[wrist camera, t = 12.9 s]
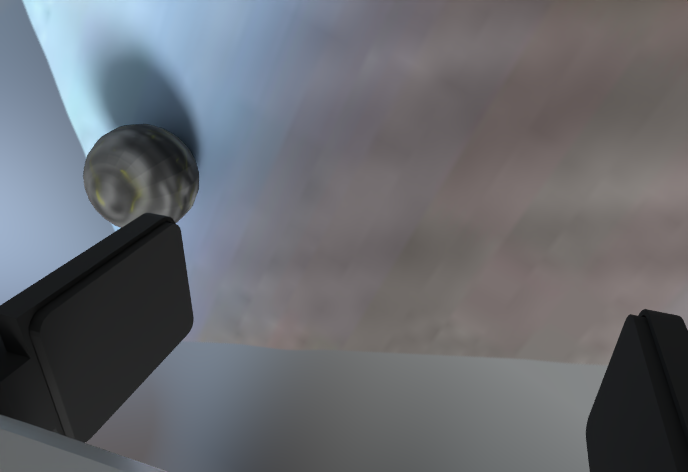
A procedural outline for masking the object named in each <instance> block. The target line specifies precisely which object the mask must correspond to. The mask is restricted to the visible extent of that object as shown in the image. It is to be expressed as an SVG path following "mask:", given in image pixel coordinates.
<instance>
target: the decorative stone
mask: <svg viewBox="0 0 688 472" xmlns="http://www.w3.org/2000/svg"><path fill="white" fill-rule="evenodd" d="M83 179H84V186H85V190H86V193H87V195H88V198H89V200H90V202H91V203H92V205H93V206H94V208H95V209H96V210H97V211H98V212H99V213H100V214H101V215H102V216H103V217H104V218H105V219H106V220H108V221H109V222H111V223H112V224H114V225H115V226H118V227H121V228H122V227H123V226H125V225H127V224H128V223H130V222H131V221H133V220H134V219H136V218H138V217H139V216H141V215H142V214H144V213H153V214H159V215H164V216H169V217H171V218H173V220H174V221H175V223H177V222H178V221H179V220H180V219H181V218H182V217H183V216H184V215H185V214H186V213H187V212H188V211H189V210H190V209H191V207H192V206H193V203H194V201H195V198H196V195H197V193H198V190H199V171H198V168H197V164H196V161H195V159H194V157H193V155H192V153H191V152H190V150H189V148H188V147H187V146H186V145H185V144H184V143H183V142H182V141H181V140H180V139H179V138H178V137H177V136H175V135H173V134H172V133H170V132H169V131H167V130H165V129H163V128H159V127H156V126H152V125H148V124H135V125H124V126H121V127H118V128H116V129H114V130H113V131H111V132H109V133H107V134H105V135H104V136H102V137H101V138H100V139H99V140H98V141H97V142H96V144H95V145H94V146H93V148H92V149H91V151H90V152H89V154H88V155H87V158H86V161H85V166H84V173H83Z"/></svg>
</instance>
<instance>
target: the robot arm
mask: <svg viewBox="0 0 688 472" xmlns="http://www.w3.org/2000/svg"><path fill="white" fill-rule="evenodd" d="M192 325H193V311H192V304H191V297H190V290H189V284H188V277H187V270H186V263H185V256H184V249H183V242H182V235H181V230H180V227H179V226H178V225H176V224H175V221H174V220H173V218H171V217H169V216H164V215H159V214H153V213H144V214H142V215H141V216H139V217H138V218H136V219H134V220H133V221H131V222H130V223H128V224H127V225H125V226H123V227H122V228H120V229H119V230H117V231H116V232H114V233H113V234H111V235H109V236H108V237H106V238H105V239H103V240H102V241H100V242H99V243H97V244H95V245H94V246H92V247H91V248H89V249H88V250H86V251H85V252H83V253H81V254H80V255H78V256H77V257H75V258H74V259H72V260H70V261H69V262H67V263H66V264H64V265H63V266H61V267H60V268H58V269H57V270H55V271H53V272H52V273H50V274H49V275H47V276H46V277H44V278H43V279H41V280H39V281H38V282H36V283H35V284H33V285H31V286H30V287H28V288H27V289H25V290H24V291H22V292H21V293H19V294H17V295H16V296H14V297H13V298H11V299H10V300H8V301H7V302H5V303H3V304H2V305H0V472H168V471H165V470H162V469H159V468H156V467H153V466H150V465H148V464H145V463H142V462H139V461H136V460H133V459H130V458H127V457H124V456H121V455H118V454H115V453H112V452H110V451H107V450H104V449H101V448H98V447H95V446H92V445H89V444H86V443H85V442H87V441H88V440H89V439H90V438H91V437H92V436H93V435H94V434H95V433H96V432H97V431H98V430H99V429H100V428H101V427H102V425H103V424H104V423H105V422H106V421H107V420H108V419H109V418H110V417H111V416H112V415H113V414H114V413H115V412H116V410H118V409H119V407H120V406H121V405H122V404H123V403H124V402H125V401H126V400H127V399H128V398H129V397H130V396H131V395H132V393H133V392H134V391H135V390H136V389H137V388H138V387H139V386H140V385H141V384H142V383H143V382H144V381H145V379H146V378H147V377H148V376H149V375H150V374H151V373H152V372H153V371H154V370H155V369H156V368H157V367H158V365H160V363H161V362H162V361H163V360H164V359H165V358H166V357H167V356H168V355H169V354H170V353H171V352H172V350H173V349H174V348H175V347H176V346H177V345H178V344H179V343H180V342H181V341H182V340H183V339H184V338H185V337H186V336H187V334H188V333H189V332H190V330H191V328H192ZM586 442H587V451H588V459H589V467H590V472H688V330H687V328H686V325H685V323H684V321H683V319H682V318H681V317H680V316H678V315H672V314H667V313H662V312H657V311H652V310H647V309H644V310H642V311H641V312H640V314H639V316H636V315H631V314H630V315H629V316H628V317H627V318H626V321H625V323H624V326H623V328H622V331H621V333H620V336H619V339H618V341H617V344H616V347H615V349H614V352H613V354H612V357H611V360H610V362H609V365H608V368H607V370H606V373H605V375H604V378H603V381H602V383H601V386H600V389H599V391H598V394H597V396H596V399H595V402H594V404H593V407H592V410H591V412H590V415H589V418H588V422H587V427H586Z"/></svg>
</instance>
